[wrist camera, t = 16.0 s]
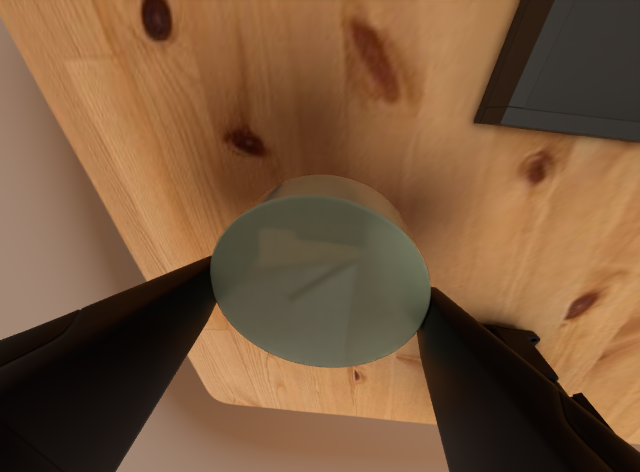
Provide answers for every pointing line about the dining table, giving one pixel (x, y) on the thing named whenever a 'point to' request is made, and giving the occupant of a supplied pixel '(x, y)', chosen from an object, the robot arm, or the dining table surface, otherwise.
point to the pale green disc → (321, 273)
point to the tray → (569, 70)
